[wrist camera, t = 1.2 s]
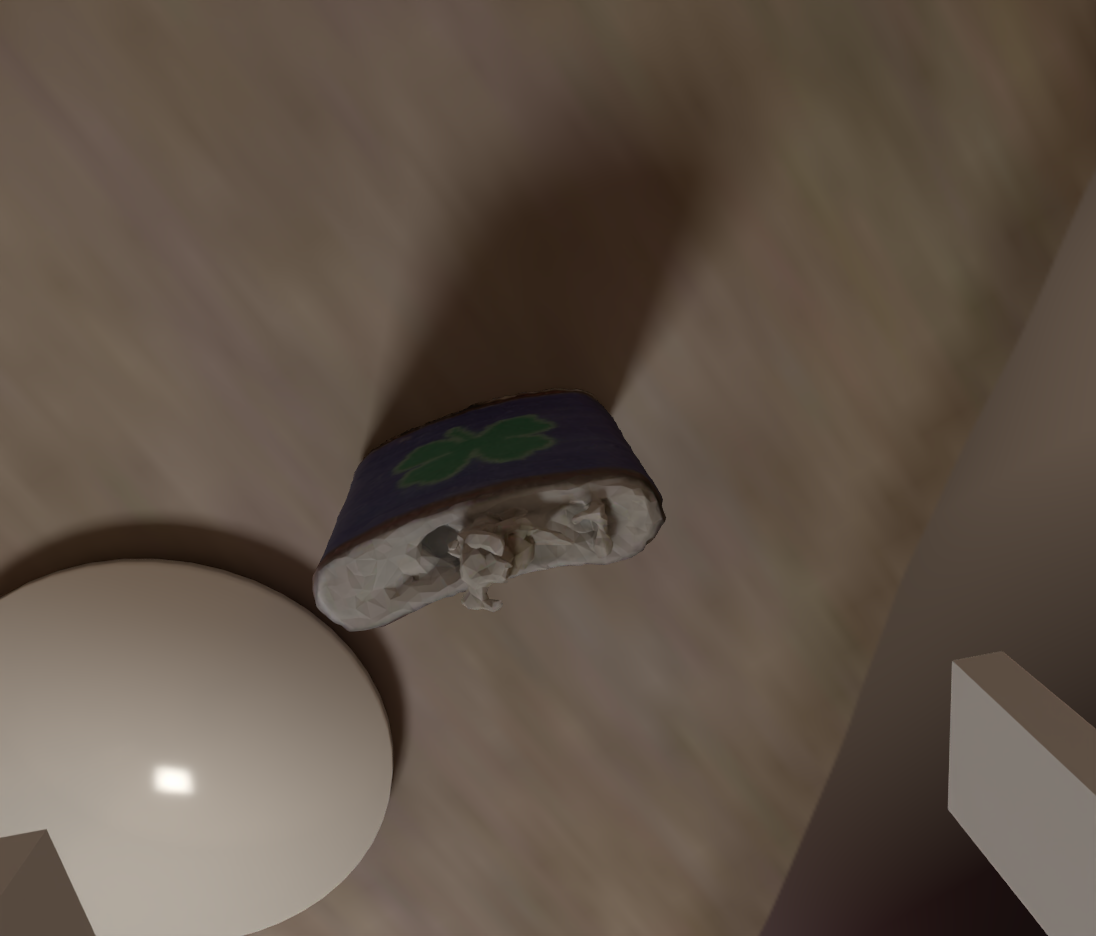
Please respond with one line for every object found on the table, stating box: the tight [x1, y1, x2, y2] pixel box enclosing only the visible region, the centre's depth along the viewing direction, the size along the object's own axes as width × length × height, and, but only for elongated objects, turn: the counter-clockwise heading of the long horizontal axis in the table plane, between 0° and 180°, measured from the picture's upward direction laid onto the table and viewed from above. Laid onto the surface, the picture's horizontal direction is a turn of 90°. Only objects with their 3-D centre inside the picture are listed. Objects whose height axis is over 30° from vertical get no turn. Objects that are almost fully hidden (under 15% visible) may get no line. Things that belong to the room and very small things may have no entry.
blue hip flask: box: [313, 389, 666, 631], centre depth 22 cm, size 9×3×11 cm, turn 104°
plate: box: [0, 559, 394, 936], centre depth 29 cm, size 17×17×1 cm
